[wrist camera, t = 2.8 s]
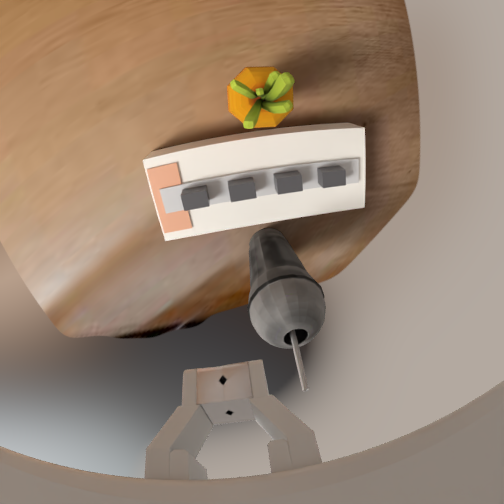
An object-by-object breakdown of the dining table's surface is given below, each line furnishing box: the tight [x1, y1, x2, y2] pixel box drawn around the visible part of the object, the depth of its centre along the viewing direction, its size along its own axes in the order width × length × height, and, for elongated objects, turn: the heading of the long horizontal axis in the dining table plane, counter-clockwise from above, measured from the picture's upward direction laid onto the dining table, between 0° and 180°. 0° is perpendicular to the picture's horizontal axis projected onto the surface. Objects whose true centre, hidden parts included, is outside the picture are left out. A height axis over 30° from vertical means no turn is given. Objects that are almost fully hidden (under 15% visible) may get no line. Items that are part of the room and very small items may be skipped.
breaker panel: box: [143, 123, 365, 241], centre depth 29 cm, size 9×22×6 cm, turn 98°
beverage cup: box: [247, 228, 326, 391], centre depth 28 cm, size 7×7×20 cm
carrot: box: [227, 67, 295, 129], centre depth 20 cm, size 5×5×15 cm
